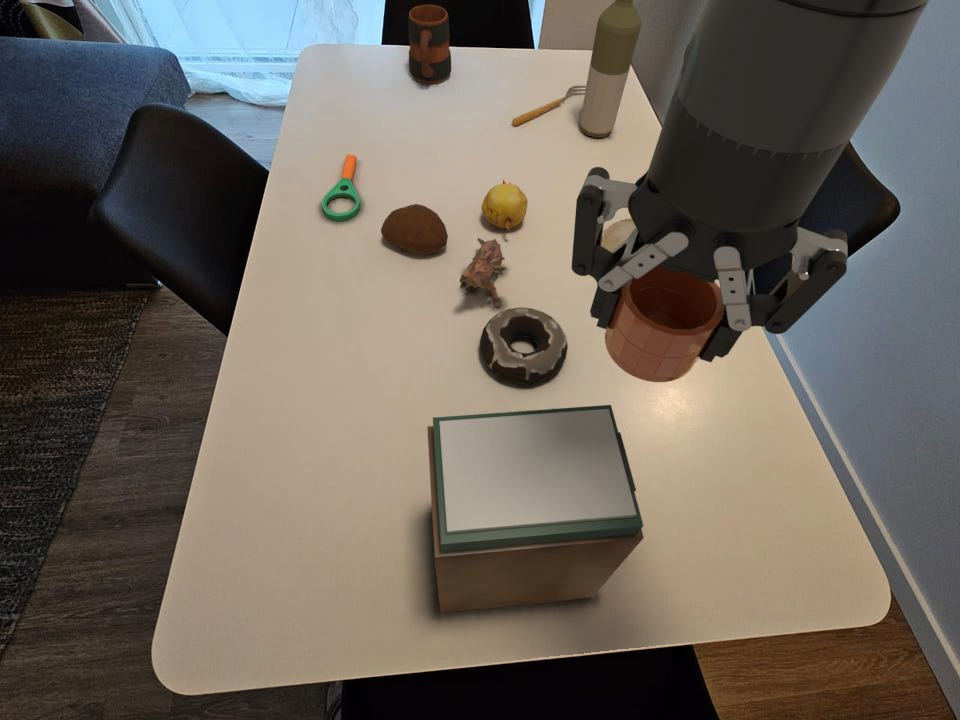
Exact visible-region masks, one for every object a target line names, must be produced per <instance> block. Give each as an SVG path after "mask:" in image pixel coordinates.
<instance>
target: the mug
mask: <svg viewBox="0 0 960 720" xmlns="http://www.w3.org/2000/svg"><path fill="white" fill-rule="evenodd" d="M407 17H408V19H407V21H408V39H409V50H408V69H409V71H408V72H409V73H410V75H411V76H412V77H413V79H414V80H415V81H417V82H419V83H421V84H428V85H434V84H435V85H436V84H439V83H443V82H445V81H446V80H447V79H448V78H449V76H450V75H451V73H452V54H451V50H450V49H451V48H450V38H451V37H450V19H449V18H450V17H449V13H448V12H447V10H446V9H445V8H443V7H441V6H439V5H435V4H421V5H417V6H415V7H413V8H411V9H410V11H409V12H408V15H407Z"/></svg>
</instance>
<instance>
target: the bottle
mask: <svg viewBox="0 0 960 720" xmlns="http://www.w3.org/2000/svg"><path fill="white" fill-rule="evenodd" d="M641 29H642V19H641V17H640V15H639V12H638V11H637V10H636V7H635V5H634V0H615V1H614V2H612V3H611V4H610V5H608V7H606V9H604V10H603V11H602V12H601V14H600V15H599V16H598V19H597V24H596V29H595V35H594V41H593V46H592V52H591V57H590V64H589V68H588V74H587V80H586V85H585V86H586V88H585V89H586V90H585V91H584V93H585V94H584V95H583V96H584V97H583V103H582V108H581V113H580V119H579V127H580V130H581V132H582V133H584V134H585V135H587V136H589V137H593V138H605V137H607V136H610V135H611V133H612V131H613V130H614V127H615V124H616V121H617V120H616V119H617V117H618V113H619V109H620V105H621V103H622V98H623V95H624V91H625V87H626V83H627V79H628V76H629V72H630V68H631V66H632V65H631V64H632V61H633V58H634V54H635V50H636V46H637V43H638V39H639V35H640V32H641Z"/></svg>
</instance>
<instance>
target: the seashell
mask: <svg viewBox="0 0 960 720" xmlns="http://www.w3.org/2000/svg"><path fill="white" fill-rule="evenodd" d="M635 228H636V226H635V224H634V222H633V220H632V218H631V217H630V218H625V219H621V220H619V221H615V222H613V223H612V224H610V225H609V226H608V227H607V228H606V229H604V230H603V234H602V242H601V246H602V247H604V248H605V249H607V250H609V251H610V252H611V251H613V250H614V249H615V248H616V247H618V246H619V245H620V244H621V243H623V242H624V241H625V240H626V239H627V238H628V237H629V236H630V234H631V233H632V231H633V230H634V229H635Z"/></svg>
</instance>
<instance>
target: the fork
mask: <svg viewBox="0 0 960 720" xmlns="http://www.w3.org/2000/svg"><path fill="white" fill-rule="evenodd" d="M585 90H586V85H572V86H569V88H568V89H567V90H566V93H565V95H564V96H563V97H561V98H558V99H555V100H553V101H551V102H548V103H546V104H544V105H542V106H539V107H537V108H535V109H532V110H530V111H528V112H525V113H523V114H521V115H518V116H516V117H514V118H513V119H512V121H511V123H512V126H514V127H517V126H519V125H521V124H524V123H525V122H527V121H529V120H531V119H533V118H535V117H537V116H540V115H541V114H543V113H545V112H547V111H549V110H550V109H553V108H555V107H557V106H559V105H561V104H562V103H564V101H565V100H566V99H568V98H570V97H574V96H580V95H585Z"/></svg>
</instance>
